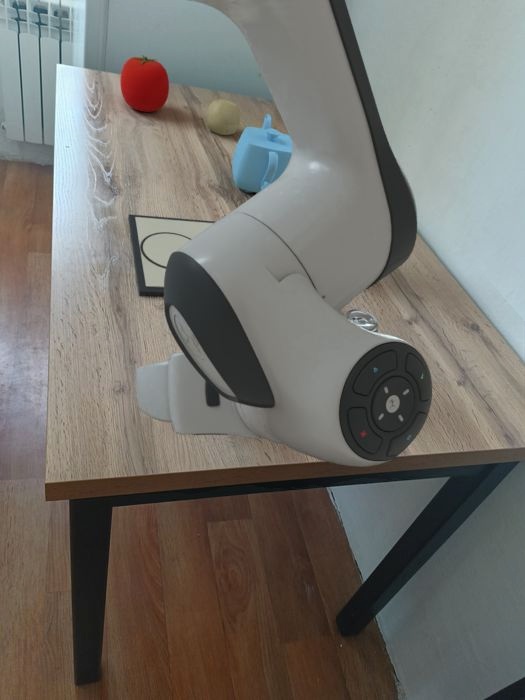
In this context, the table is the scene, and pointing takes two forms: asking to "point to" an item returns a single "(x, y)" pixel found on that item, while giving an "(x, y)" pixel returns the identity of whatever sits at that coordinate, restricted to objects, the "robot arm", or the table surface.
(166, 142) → the table surface
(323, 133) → the robot arm
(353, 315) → the soda can
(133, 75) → the tomato
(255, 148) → the teapot
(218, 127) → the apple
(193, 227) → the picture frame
